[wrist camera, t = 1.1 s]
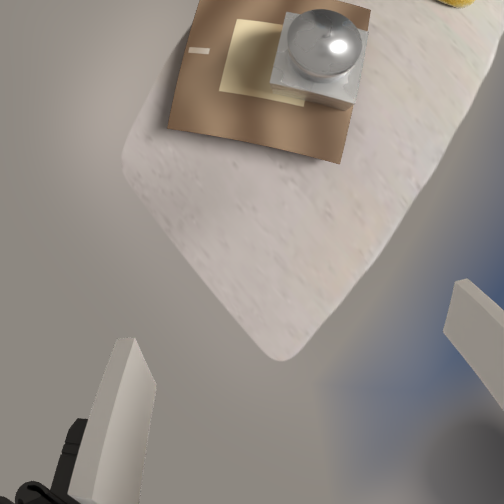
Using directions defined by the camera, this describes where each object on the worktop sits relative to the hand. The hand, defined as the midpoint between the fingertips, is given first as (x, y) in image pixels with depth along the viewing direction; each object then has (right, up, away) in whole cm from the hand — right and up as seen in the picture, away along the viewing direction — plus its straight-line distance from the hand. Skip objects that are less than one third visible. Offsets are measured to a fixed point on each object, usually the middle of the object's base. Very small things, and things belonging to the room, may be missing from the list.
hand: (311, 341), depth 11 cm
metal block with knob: (+3, +19, +12) cm, 23 cm away
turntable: (0, +21, +14) cm, 25 cm away
